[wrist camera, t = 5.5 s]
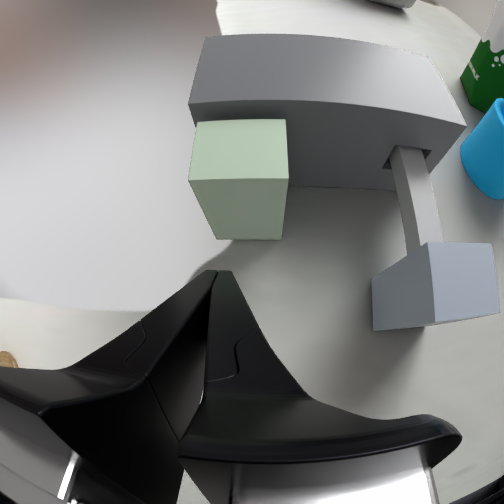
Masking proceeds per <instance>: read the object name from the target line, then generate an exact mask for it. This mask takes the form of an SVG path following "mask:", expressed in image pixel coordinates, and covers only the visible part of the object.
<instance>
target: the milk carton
mask: <svg viewBox="0 0 504 504" xmlns="http://www.w3.org/2000/svg"><path fill="white" fill-rule="evenodd" d="M460 78H461V80H462V83H463V86H464V88H465V91H466V94H467V97H468V100H469V102H470V105H471V106H473V107H475V108H477V109H479V110H481V111H482V112H484V113H487V112H488V110H489V109H490V107H491V106H492V105H493V103H494V102H495V101H496V99H498V98H503V99H504V0H497V1H496V5H495V8H494V11H493V14H492V17H491V19H490V22H489V24H488V26H487V28H486V30H485V32H484V34H483V36H482V38H481V40H480V42H479V44H478V46H477V48H476V50H475V52H474V54H473V56H472V58H471V59H470V61H469V63H468V65H467V67H466V68H465V70H464V72H463V74H462V75H461V77H460Z"/></svg>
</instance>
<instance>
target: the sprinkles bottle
mask: <svg viewBox="0 0 504 504" xmlns="http://www.w3.org/2000/svg"><path fill="white" fill-rule="evenodd" d="M0 366H3V367H13V368H18V365H17V363H16V361H15V359H14V358H13V356H12V355H11V354H10V353H9V352H6V351H1V352H0Z"/></svg>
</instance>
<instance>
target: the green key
mask: <svg viewBox="0 0 504 504" xmlns="http://www.w3.org/2000/svg"><path fill="white" fill-rule="evenodd" d="M288 180H289V174H288V154H287V136H286V120H285V119H245V120H220V121H204V122H197V127H196V133H195V138H194V145H193V151H192V158H191V164H190V171H189V178H188V181H189V183H190V185H191V187H192V189H193V192H194V194H195V196H196V198H197V200H198V202H199V204H200V206H201V208H202V210H203V212H204V214H205V217H206V219H207V221H208V223H209V225H210V227H211V229H212V231H213V233H214V235H215V237H216V239H269V240H281V237H282V229H283V222H284V214H285V205H286V197H287V189H288Z"/></svg>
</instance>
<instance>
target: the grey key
mask: <svg viewBox="0 0 504 504" xmlns="http://www.w3.org/2000/svg"><path fill="white" fill-rule="evenodd" d="M389 159H390V163H391V168H392V172H393V176H394V180H395V185H396V190H397V195H398V200H399V205H400V210H401V216H402V222H403V228H404V234H405V241H406V248H407V256H406V257H404V258H403V259H401V260H400V261H398V262H397V263H395V264H394V265H392V266H391V267H389V268H388V269H386V270H385V271H383V272H382V273H380V274H379V275H377V276H375V277H374V278H372V279H371V289H372V310H373V331H381V330H393V329H404V328H415V327H424V326H431V325H438V324H444V323H450V322H456V321H462V320H467V319H472V318H478V317H483V316H487V315H492V314H497V313H500V302H499V291H498V282H497V274H496V267H495V261H494V255H493V249H492V244H491V243H463V242H444V239H443V233H442V228H441V223H440V218H439V213H438V209H437V204H436V200H435V196H434V192H433V188H432V184H431V180H430V177H429V173H428V170H427V166H426V163H425V160H424V156H423V153H422V150H421V148H415V147H409V146H402V145H395V146H394V148H393V150H392V152H391V153H390V155H389Z"/></svg>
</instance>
